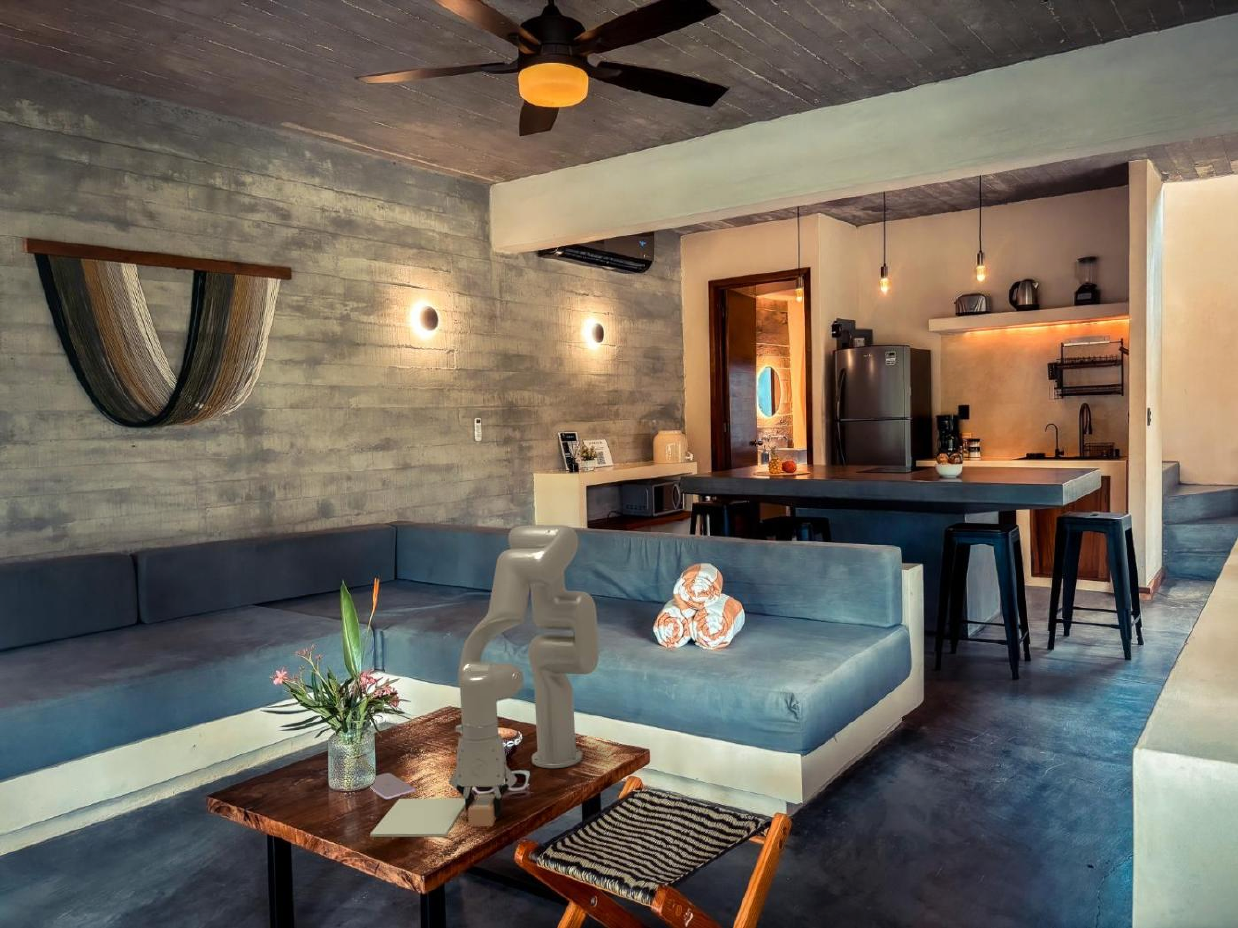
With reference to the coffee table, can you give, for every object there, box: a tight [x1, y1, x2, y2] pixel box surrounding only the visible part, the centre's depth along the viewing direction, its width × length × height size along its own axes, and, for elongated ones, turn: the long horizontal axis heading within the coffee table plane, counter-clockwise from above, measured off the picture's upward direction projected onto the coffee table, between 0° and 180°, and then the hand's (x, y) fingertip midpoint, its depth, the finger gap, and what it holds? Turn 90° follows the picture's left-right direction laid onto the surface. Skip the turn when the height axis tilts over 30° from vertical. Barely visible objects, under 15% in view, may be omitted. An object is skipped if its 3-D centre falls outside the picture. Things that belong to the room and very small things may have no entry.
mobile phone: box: [370, 772, 416, 800], centre depth 218 cm, size 8×1×15 cm
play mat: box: [369, 797, 466, 838], centre depth 199 cm, size 18×16×1 cm
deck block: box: [467, 793, 498, 827], centre depth 198 cm, size 8×5×4 cm, turn 175°
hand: (484, 813), depth 198 cm, fingers closed on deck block, 5 cm apart
